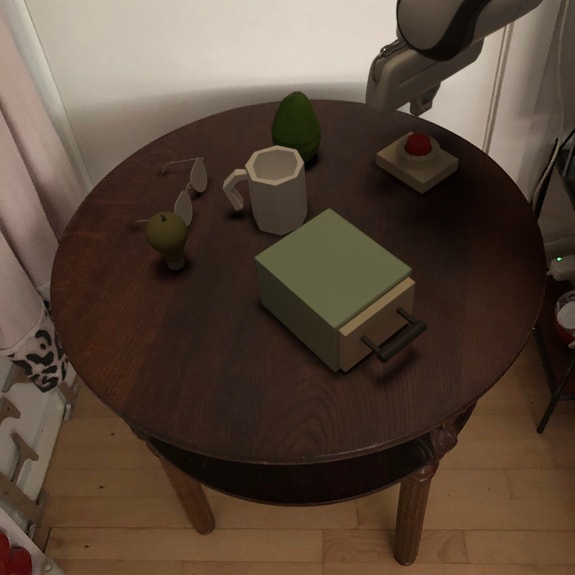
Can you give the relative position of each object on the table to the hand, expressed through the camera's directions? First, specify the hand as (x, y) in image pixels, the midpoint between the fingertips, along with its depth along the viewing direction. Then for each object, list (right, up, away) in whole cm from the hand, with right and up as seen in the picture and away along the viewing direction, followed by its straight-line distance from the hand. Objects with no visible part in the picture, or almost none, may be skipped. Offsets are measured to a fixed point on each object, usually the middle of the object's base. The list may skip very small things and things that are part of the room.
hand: (420, 111), depth 92 cm
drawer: (-11, -31, -11) cm, 34 cm away
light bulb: (-35, -23, -2) cm, 42 cm away
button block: (+1, -7, +8) cm, 11 cm away
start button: (+1, -4, +5) cm, 7 cm away
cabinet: (-13, -29, -9) cm, 33 cm away
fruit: (-18, -5, +12) cm, 22 cm away
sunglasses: (-38, -13, +7) cm, 40 cm away
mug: (-22, -15, +4) cm, 27 cm away
